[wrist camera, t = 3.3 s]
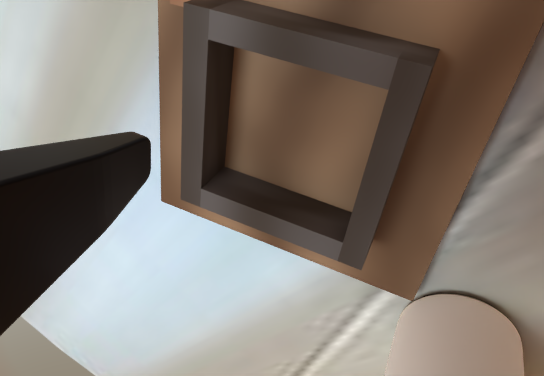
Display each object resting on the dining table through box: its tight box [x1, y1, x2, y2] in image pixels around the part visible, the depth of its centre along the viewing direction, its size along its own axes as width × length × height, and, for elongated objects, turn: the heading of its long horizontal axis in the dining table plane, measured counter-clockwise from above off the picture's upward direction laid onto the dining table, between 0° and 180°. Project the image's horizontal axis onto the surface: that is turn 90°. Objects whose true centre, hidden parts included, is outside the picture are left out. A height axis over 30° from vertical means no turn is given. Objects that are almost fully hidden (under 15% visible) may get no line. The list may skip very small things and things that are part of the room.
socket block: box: [158, 0, 544, 301], centre depth 21 cm, size 16×16×4 cm
